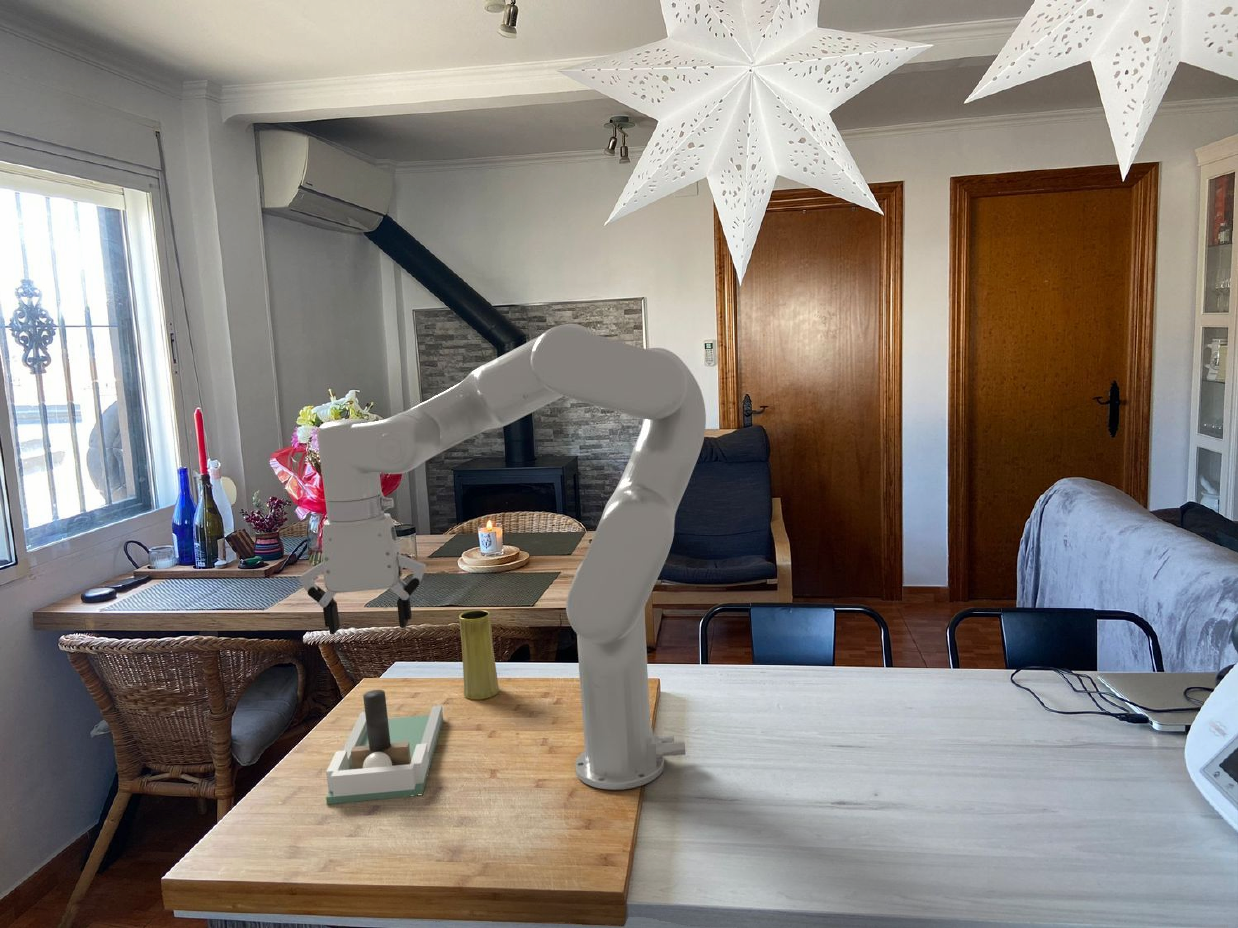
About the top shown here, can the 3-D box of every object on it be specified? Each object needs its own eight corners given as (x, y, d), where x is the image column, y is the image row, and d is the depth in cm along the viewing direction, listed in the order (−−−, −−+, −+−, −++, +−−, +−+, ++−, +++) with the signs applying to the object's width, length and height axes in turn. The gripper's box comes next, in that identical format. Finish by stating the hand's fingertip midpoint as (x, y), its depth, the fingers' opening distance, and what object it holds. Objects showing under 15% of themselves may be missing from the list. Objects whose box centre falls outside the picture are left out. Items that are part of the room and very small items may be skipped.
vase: (506, 691, 162) (499, 612, 159) (478, 703, 157) (471, 622, 155) (484, 683, 166) (477, 606, 163) (456, 694, 161) (449, 616, 159)
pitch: (443, 719, 152) (440, 696, 151) (422, 795, 128) (419, 768, 128) (362, 726, 151) (359, 703, 151) (326, 803, 128) (323, 776, 127)
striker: (411, 759, 136) (404, 687, 134) (408, 769, 133) (400, 695, 131) (356, 764, 135) (347, 692, 133) (352, 774, 132) (343, 700, 130)
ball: (392, 786, 131) (395, 761, 134) (387, 768, 128) (390, 744, 132) (363, 788, 130) (367, 764, 134) (358, 771, 128) (362, 747, 131)
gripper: (422, 498, 132) (434, 613, 135) (298, 508, 131) (313, 624, 134) (414, 509, 125) (428, 631, 128) (283, 520, 124) (300, 643, 127)
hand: (369, 627), depth 131 cm, fingers open, 9 cm apart
